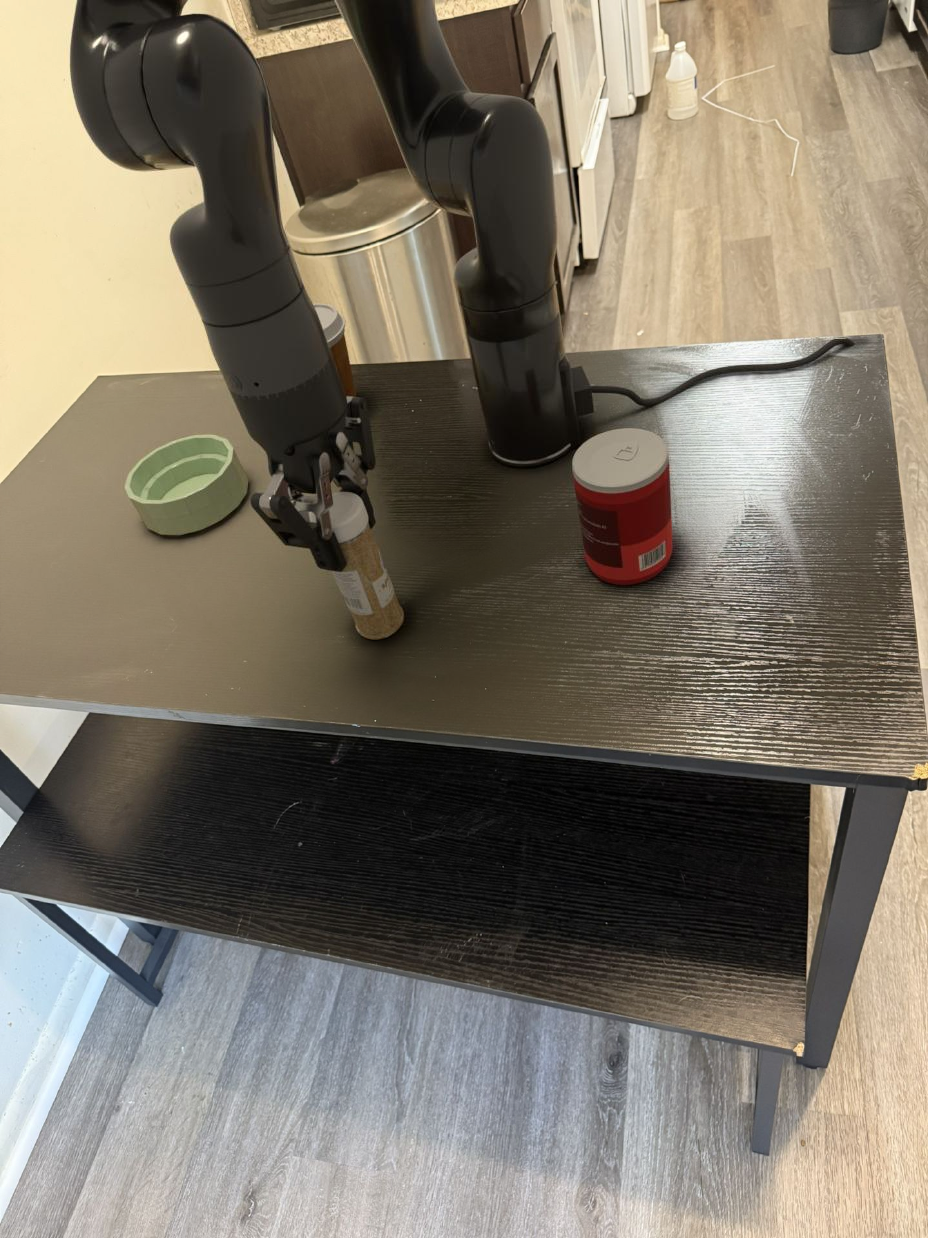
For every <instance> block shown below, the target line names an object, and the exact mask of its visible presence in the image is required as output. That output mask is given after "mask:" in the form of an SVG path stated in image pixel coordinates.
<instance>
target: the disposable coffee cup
mask: <svg viewBox="0 0 928 1238" xmlns="http://www.w3.org/2000/svg"><path fill="white" fill-rule="evenodd" d="M313 305H314V307H315V310H316V312H317V314H318V317H319V319H320V322H321V325H322V328H323V331H324V334H325V336H326V339H327V342H328V345H329V348H330V351H331V354H332V357H333V359H334V362H335V365H336V368H337V371H338V374H339V377H340V380H341V383H342V386H343V388H344V391H345V394H346V396H350V397H357V392H356V387H355V382H354V377H353V376H354V375H353V370H352V367H351V366H352V365H351V361H350V356H349V350H348V346H347V342H346V336H345V331H346V329H345V327H346V320H345V318H344V316H343V315H342V314H340V313H339V311H338V310H337V308H336V307H335V306H334V305H331V304H328V303H323V302H314V303H313Z"/></svg>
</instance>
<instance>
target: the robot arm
mask: <svg viewBox="0 0 928 1238" xmlns="http://www.w3.org/2000/svg"><path fill="white" fill-rule="evenodd" d="M188 1H189V0H76V3H75V9H74V15H73V21H72V29H71V36H70V46H69V72H70V73H69V74H70V75H69V76H70V83H71V90H72V94H73V99H74V103H75V107H76V110H77V113H78V115H79V118H80V120H81V123H82V125H83V128H84V129H85V131H86V133H87V135H88V136H89V139H90V140H91V142H92V143H93V144H94V146H95V147H96V148H97V150H98V151H99V152H100V153H101V154H102V155H103V156H104V157H105V158H106V159H108V161H110V162H112V163H113V164H114V165H117V166H118V167H120V168H123V169H125V170H128V171H133V172H144V173H145V172H158V171H168V170H179V169H181V170H182V169H190V168H196V170H197V172H198V174H199V177H200V181H201V187H202V195H203V201H202V202H199V203H197V204H195V205H192V207H190V208H187V210H185V211H184V212H183V213H181V214H180V215H179V216H178V217H177V218H176V219H175V221H174V222H173V223H172V225H171V227H170V231H169V245H170V248H171V253H172V255H173V258H174V261H175V263H176V266H177V268H178V271H179V272H180V275H181V277H182V279H183V281H184V284H185V285H186V288H187V290H188V292H189V294H190V297H191V299H192V301H193V303H194V306H195V308H196V310H197V313H198V315H199V317H200V319H201V322H202V325H203V327H204V331H205V333H206V337H207V340H208V345H209V347H210V350H211V353H212V356H213V358H214V361H215V363H216V365H217V368H218V369H219V371H220V374H221V376H222V377H223V380H224V382H225V384H226V388H227V389H228V391H229V393H230V395H231V398H232V400H233V402H234V404H235V407H236V409H237V411H238V413H239V415H240V418H241V420H242V422H243V424H244V427H245V429H246V431H247V433H248V435H249V436H250V437H251V439H252V440H253V441H254V442H255V443H256V444H258V446H260V447H261V449H262V450H264V452H265V454H266V457H267V463H268V464H267V465H268V472H269V476H270V477H271V478H270V480H269V482H268V484H267V486H266V488H265V490H264V492H258V491H257V492H254V493H252V495H251V497H250V507H251V508H252V509H253V510H254V511H255V512H256V514H257V515H258V516H259V517H260V518H261V519H262V521H263V522H264V523H265V524H266V525H267V527H269V528H270V530H271V531H272V532H273V534H275V536H276V537H277V538H278V539H279V540H280V541H281V542H282V544H283V545H284V546H287V547H295V548H301V549H309V551H310V553H311V555H312V557H313V559H314V562H315V564H316V567H318V568H319V569H320V570H325V571H328V572H329V571H330V572H332V571H336V572H342V571H343V570H344V568H345V567H346V565H347V562H346V560H345V557H344V555H343V552H342V550H341V547H340V545H339V543H338V540H337V538H336V535H335V533H334V532H332V526H331V519H330V513H329V509H330V508H331V507H332V506H333V497H332V494H333V491H332V486H331V484H332V482H333V484H334V485H335V486H336V487H337V488H340V490H339V491H338V492H351V493H354V494H356V495H358V496H359V497H360V498H361V499H362V501H363V503H364V506H365V508H366V511H367V514H368V521H369V522H368V523H369V526H370V529H371V530H372V529H373V528H374V527H375V525H376V524H377V521H376V517H375V513H374V507H373V505H372V502H371V500H370V497H369V493H368V491H367V487H368V485H369V478H368V476H367V474H368V471H373V470H374V469H375V467H376V464H377V461H376V454H375V446H374V441H373V435H372V434H373V433H372V430H371V429H372V427H371V422H370V415H369V408H368V402H367V399H366V398H365V397H359V396H356V397H350V396H346V394H345V391H344V388H343V386H342V383H341V380H340V377H339V374H338V371H337V368H336V365H335V362H334V359H333V357H332V354H331V351H330V348H329V345H328V342H327V339H326V336H325V334H324V331H323V328H322V325H321V322H320V319H319V317H318V314H317V312H316V310H315V307H314V305H313V304H314V303H313V302H312V300H311V297H310V296H309V293H308V291H307V289H306V287H305V285H304V282H303V278H302V276H301V273H300V269H299V268H298V264H297V262H296V258H295V256H294V253H293V250H292V247H291V245H290V242H289V239H288V237H287V234H286V231H285V228H284V225H283V220H282V213H281V212H282V211H281V202H280V192H279V183H278V182H279V181H278V174H277V173H278V172H277V165H276V155H275V144H274V143H275V142H274V130H273V129H274V127H273V118H272V117H273V116H272V108H271V101H270V94H269V91H268V87H267V82H266V80H265V79H266V78H265V77H264V73H263V72H262V69H261V66H260V64H259V62H258V60H257V58H256V56H255V54H254V53H253V51H252V49H251V48H250V47H249V46H248V44H247V42H246V41H245V40H244V38H243V37H242V36H241V35H240V34H239V33H238V32H237V30H235V28H233V27H232V26H231V25H230V24H228V23H227V22H226V21H224V20H223V19H221V18H219V17H218V16H217V17H216V16H214V15H212V14H208V13H188V14H182V13H183V10H184V7H185V5H186V4H187V2H188ZM333 1H334V3H335V5H336V7H337V10H338V11H339V13H340V16H341V18H342V20H343V22H344V24H345V25H346V27H347V30H348V32H349V34H350V37H352V38H351V39H352V40H353V42H354V44H355V46H356V48H357V50H358V52H359V54H360V56H361V58H362V60H363V62H364V64H365V66H366V69H367V71H368V72H369V75H370V77H371V78H372V81H373V84H374V87H375V89H376V91H377V94H378V96H379V99H380V102H381V104H382V107H383V109H384V112H385V114H386V117H387V120H388V122H389V125H390V127H391V130H392V133H393V136H394V138H395V141H396V143H397V146H398V148H399V151H400V153H401V157H402V159H403V161H404V163H405V166H406V169H407V170H408V173H409V175H410V177H411V180H412V181H413V183H414V184H415V187H416V188H417V190H418V191H419V192H420V194H421V195H422V196H423V198H424V199H425V200H426V201H427V202H428V203H430V204H431V205H432V206H434V207H435V208H437V209H439V210H441V211H444V212H446V213H450V214H455V215H460V216H464V217H469V218H472V221H473V227H474V234H475V242H476V247H474V248H473V249H470V250H469V251H468V252H466V253H465V254H464V255H462V256H461V257H460V258H459V260H457V262H456V264H455V265H454V268H453V273H452V277H453V278H452V279H453V285H454V289H455V294H456V298H457V303H458V307H459V312H460V316H461V321H462V325H463V330H464V335H465V340H466V343H467V348H468V353H469V358H470V362H471V367H472V371H473V376H474V380H475V384H476V389H477V393H478V398H479V403H480V407H481V411H482V417H483V421H484V425H485V429H486V437H487V440H488V447H489V451H490V454H491V455H492V457H493V458H494V459H495V460H496V461H498V462H500V463H501V464H504V465H506V466H509V467H510V466H511V467H518V468H528V467H530V468H531V467H537V466H542V465H545V464H549V463H551V462H553V461H556V460H557V459H559V458H562V457H563V456H564V455H565V454H567V453H568V452H569V451H570V450H572V449H575V448H579V447H580V446H581V445H582V442H581V433H580V428H579V419H578V418H579V417H582V416H587V415H590V414H595V408H594V407H595V406H594V397H593V394H614V395H615V394H616V395H621V396H625V397H627V398H629V399H630V400H631V401H632V402H634V403H635V404H636V405H638V406H640V407H641V406H642V407H653V406H657V405H660V404H662V403H664V402H666V401H668V400H670V399H672V398H673V397H675V396H677V395H680V394H681V393H682V392H684V391H685V390H688V389H689V388H691V387H693V386H694V385H696V384H698V383H700V382H702V381H704V380H707V379H710V378H712V377H717V376H720V375H726V374H734V373H746V372H747V373H751V372H752V373H753V372H775V371H785V370H790V369H796V368H800V367H803V366H807V365H809V364H811V363H813V362H815V361H816V360H818V359H820V358H821V357H822V356H824V355H825V354H826V353H827V352H829V351H830V350H831V349H833V348H835V347H836V346H841V345H842V346H844V347H847V348H850V347H853V346H855V344H856V343H855V342H854V341H853V340H852V339H850V338H849V337H843V336H842V337H841V336H840V338H846V339H835V338H833V339H831V340H830V341H828V342H827V343H825V344H824V345H823V346H821V347H820V348H819V349H817V350H816V351H814V352H813V353H811V354H810V355H807V356H806V357H803V358H800V359H796V360H791V361H786V362H776V363H755V364H735V365H727V366H721V367H720V366H719V367H716V368H712V369H709V370H706V371H703V372H700V373H698V374H697V375H694V376H693V377H691V378H689V379H687V380H686V381H684V382H683V383H681V384H680V385H678V386H676V387H675V388H673V389H672V390H670V391H668V392H667V393H664V394H663V395H660V396H658V397H653V398H642V397H641V396H639V395H638V394H637V393H636V392H635V391H634V390H632V389H629V388H625V387H622V386H615V385H614V386H613V385H591V383H590V381H589V379H588V377H587V375H586V373H585V370H584V368H583V366H582V365H579V366H575V367H571V364H570V361H569V358H568V356H567V353H566V349H565V341H564V334H563V327H562V320H561V312H560V304H559V298H558V289H557V283H556V275H555V267H554V266H555V265H554V264H555V258H556V252H557V247H558V236H559V233H558V231H559V230H558V217H557V206H556V193H555V191H556V190H555V179H554V177H555V176H554V166H553V165H554V164H553V156H552V151H551V143H550V139H549V135H548V131H547V128H546V125H545V123H544V120H543V118H542V116H541V114H540V113H539V111H538V110H537V108H536V107H535V106H534V105H533V104H532V103H531V102H529V101H528V100H526V99H524V98H523V97H520V96H519V97H518V96H513V95H507V94H497V93H496V94H495V93H482V92H472V91H471V90H470V89H469V87H468V86H467V85H466V83H465V81H464V79H463V77H462V76H461V74H460V72H459V69H458V68H457V65H456V63H455V61H454V59H453V56H452V54H451V52H450V49H449V47H448V45H447V42H446V40H445V37H444V34H443V32H442V29H441V26H440V22H439V20H438V15H437V10H436V3H435V2H436V1H435V0H333ZM354 443H357V444H359V447H360V453H361V454H359V453H356V452H355V448H354ZM304 494H310V495H316V496H309V495H304ZM309 512H313V513H314V514H315V517H316V523H314V522H310V517H309Z"/></svg>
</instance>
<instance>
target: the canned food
mask: <svg viewBox="0 0 928 1238" xmlns="http://www.w3.org/2000/svg"><path fill="white" fill-rule="evenodd" d="M577 448H578V449H577V450H576V451H575V452H574V455H573V457H572V461H571V462H572V468H571V469H572V476H573V477H572V478H573V485H574V493H575V501H576V506H577V507H576V508H577V512H578V520H579V527H580V532H581V539H582V540H581V541H582V547H583V552H584V558H585V562H586V564H587V566H588V567H589V569H590V570H591V571H590V572H592V573H593V574H594V575H595V576H596V578H598V579H600V580H601V581H603V582H606V583H608V584H612V585H618V586H620V585H621V586H628V585H637V584H641V583H643V582H646V581H650V580H651V579H653V578H654V577H656V576H658V575H659V574H660V573H662V571H663V570H664V569H665V568H666V567H667V566H668V563H669V561H670V559H671V556H672V553H673V548H674V545H673V541H674V540H673V521H672V519H673V517H672V497H671V496H672V495H671V474H670V473H671V472H670V458H669V457H670V456H669V452H668V451H669V450H668V446H667V444H666V442H665V441H664V440H663V438H662V437H660V436H659V435H657V434H656V433H654V432H652V431H649V430H646V429H643V428H633V427H631V428H630V427H628V428H627V427H625V428H616V429H612V430H607V431H603V432H601V433H598V434H596V435H594V436H592V437H590V438H589V439H587V440H585V442H583V443H581V446H579V447H577Z"/></svg>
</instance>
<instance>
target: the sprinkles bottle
mask: <svg viewBox="0 0 928 1238" xmlns="http://www.w3.org/2000/svg"><path fill="white" fill-rule="evenodd" d="M332 497H333V506H332V507H331V508H330V509H329V513H330V519H331V526H332V532H334V533H335V535H336V538H337V540H338V543H339V545H340V547H341V550H342V552H343V555H344V557H345V560H346V562H347V565H346V567H345V568H344V570H343V571H342V572H336V571H331V572H332V575H333V577H334V580H335V582H336V584H337V586H338V588H339V591H340V593H341V595H342V598H343V600H344V602H345V604H346V606H347V608H348V610H349V611H350V614H351V616H352V618H353V620H354V623H355V625H354V626H355V630H356V631H357V633H358V634H359V635H360V636H362V637H363V638H365V639H369V640H374V641H375V640H376V641H377V640H381V639H385V638H388V637H390V636H392V635H394V634H395V633H396V632H397V631H398V630H399V629H401V626H402V625H403V624H404V618H405V614H404V613H405V612H404V610H403V608H402V606H401V605H400V603H399V601H398V598H397V595H396V591H395V589H394V586H393V583H392V582H393V581H392V580H391V578H390V576H389V572H388V569H387V567H386V565H385V562H384V560H383V557H382V554H381V551H380V549H379V547H378V545H377V543H376V540H375V537H374V534H373V532H372V529H370V526H369V523H368V522H369V521H368V514H367V511H366V508H365V506H364V503H363V501H362V499H361V498H360V497H359V496H358V495H356V494H354V493H351V492H339V491H337V492H334V493H333V492H332ZM309 517H310V522H314V523H316V517H315V514H314V513H313V512H309Z"/></svg>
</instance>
